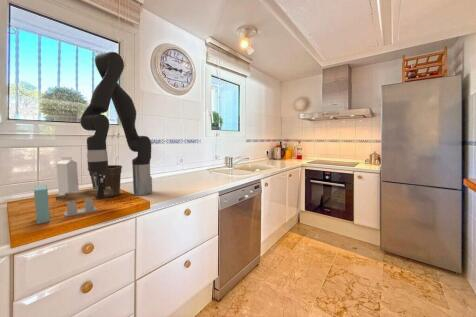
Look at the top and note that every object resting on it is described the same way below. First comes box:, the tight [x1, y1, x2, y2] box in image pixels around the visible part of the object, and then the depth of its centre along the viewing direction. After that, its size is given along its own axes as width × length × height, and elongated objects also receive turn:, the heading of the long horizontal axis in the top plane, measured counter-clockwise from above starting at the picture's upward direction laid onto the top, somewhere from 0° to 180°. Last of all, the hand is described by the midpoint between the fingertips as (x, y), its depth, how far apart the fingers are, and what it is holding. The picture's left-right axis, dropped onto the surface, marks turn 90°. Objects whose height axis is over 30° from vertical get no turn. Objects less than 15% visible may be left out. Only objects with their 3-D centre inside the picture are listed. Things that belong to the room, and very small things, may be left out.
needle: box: [55, 187, 111, 202], centre depth 89 cm, size 19×3×3 cm, turn 133°
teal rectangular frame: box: [33, 184, 51, 225], centre depth 80 cm, size 4×9×13 cm, turn 42°
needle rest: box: [63, 197, 98, 218], centre depth 88 cm, size 11×4×5 cm, turn 133°
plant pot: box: [88, 164, 123, 199], centre depth 115 cm, size 16×16×16 cm
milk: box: [56, 156, 80, 195], centre depth 110 cm, size 6×6×22 cm
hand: (100, 197), depth 93 cm, fingers closed on needle, 2 cm apart
